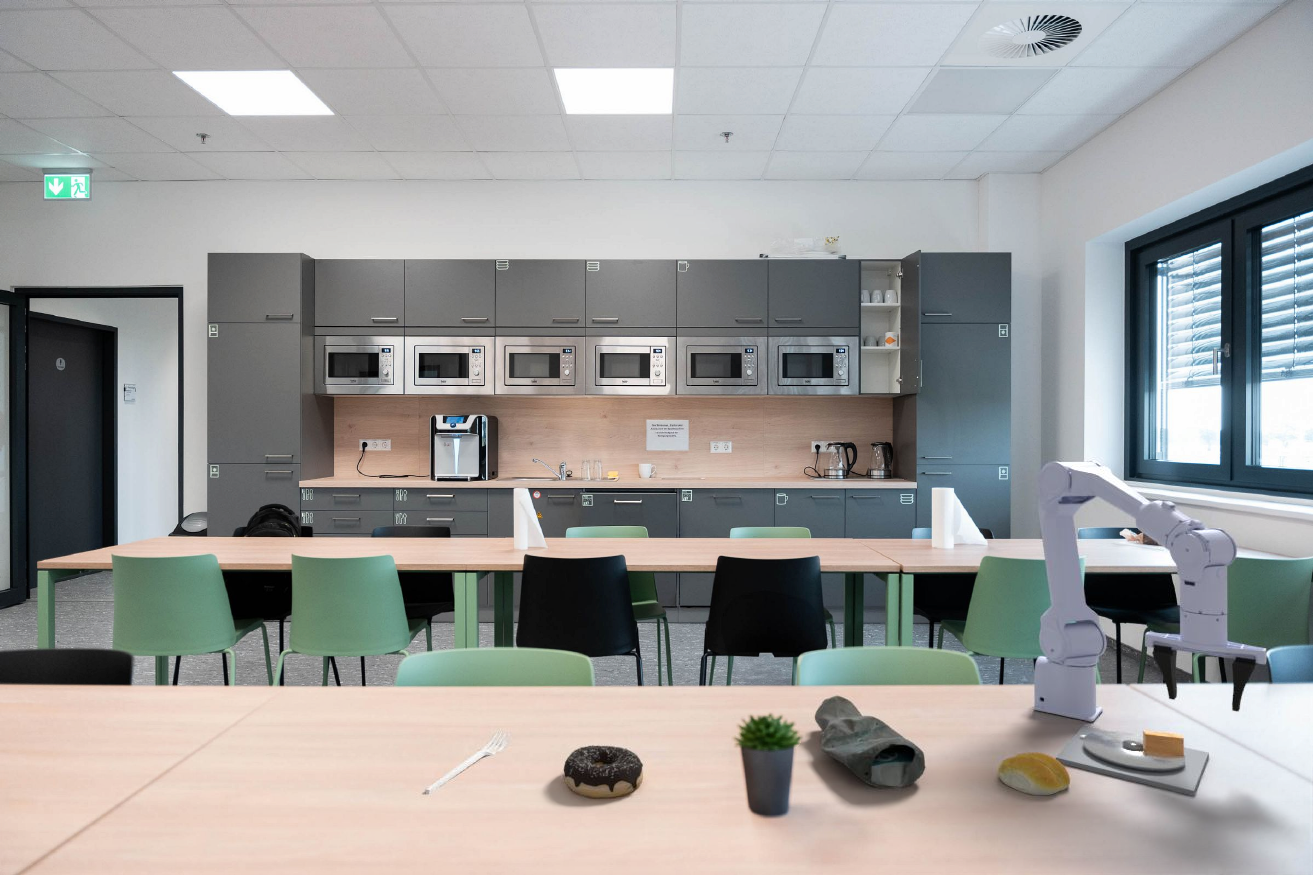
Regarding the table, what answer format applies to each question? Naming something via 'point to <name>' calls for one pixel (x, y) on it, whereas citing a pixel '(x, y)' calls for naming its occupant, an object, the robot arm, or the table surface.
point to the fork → (471, 760)
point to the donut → (603, 771)
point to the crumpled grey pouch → (868, 745)
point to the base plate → (1173, 780)
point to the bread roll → (1034, 774)
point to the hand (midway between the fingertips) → (1203, 703)
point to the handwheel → (1138, 749)
